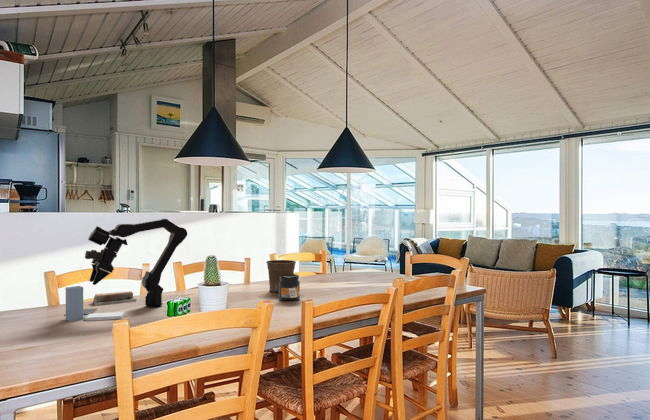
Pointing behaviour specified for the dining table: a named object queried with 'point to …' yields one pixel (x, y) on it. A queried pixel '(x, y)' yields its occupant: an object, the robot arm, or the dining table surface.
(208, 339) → the dining table surface
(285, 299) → the supplement container
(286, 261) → the plant pot
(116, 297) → the packaged product
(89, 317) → the strip
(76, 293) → the stub
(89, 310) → the coaster
